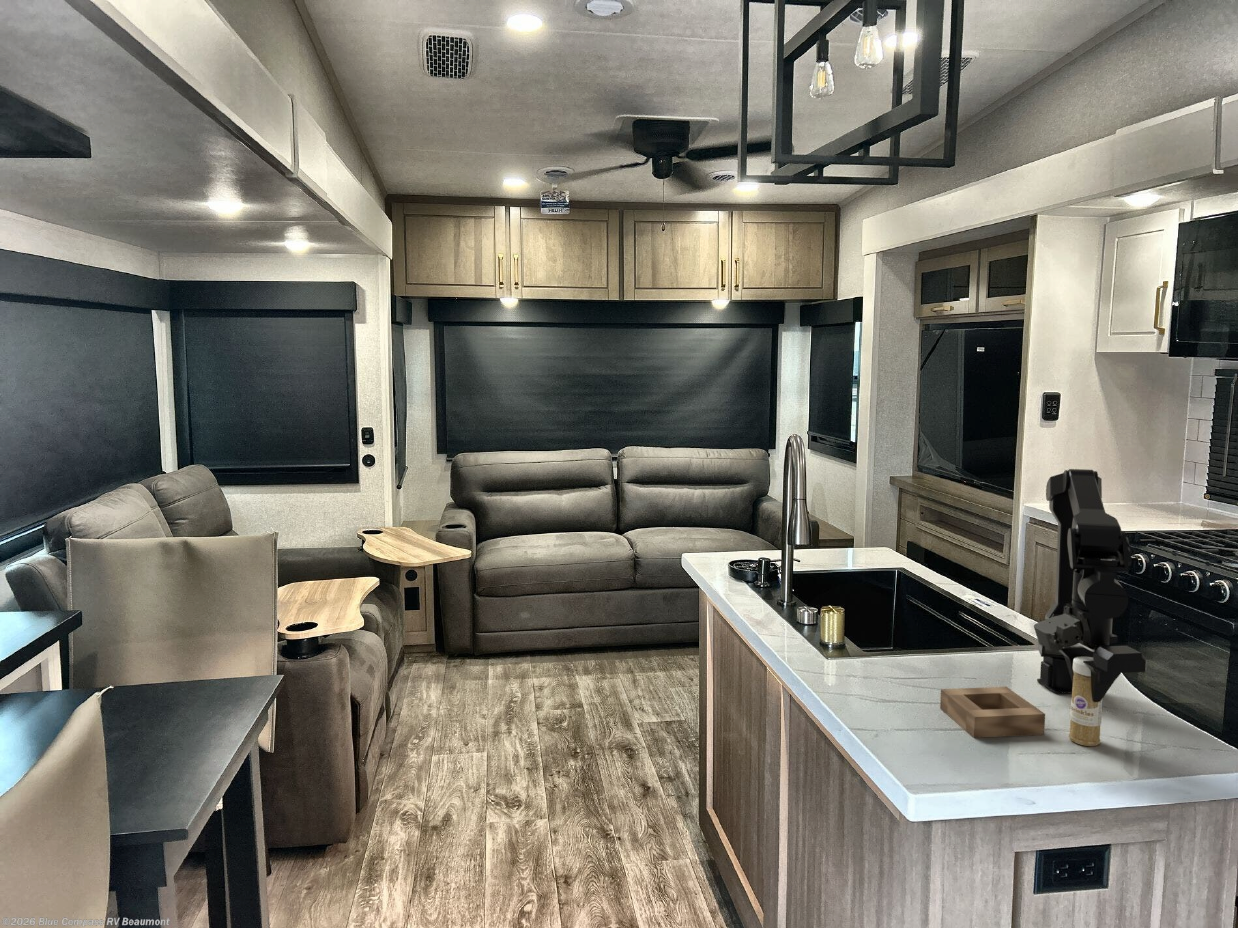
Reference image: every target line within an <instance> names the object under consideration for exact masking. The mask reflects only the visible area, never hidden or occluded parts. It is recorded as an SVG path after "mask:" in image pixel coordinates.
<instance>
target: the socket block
mask: <svg viewBox="0 0 1238 928" xmlns="http://www.w3.org/2000/svg"><path fill="white" fill-rule="evenodd" d="M939 701H940V705H939V709H940V710H941V711H942V712H944V713H945V714H946V715H947V716H948V717H950V719H952V720H953V721H954V722H955V723H956V724H957V725H959V726H960V727H961V728H962V729H963V730H964V731H965V732H967V734H969V735H970V736H971V737H973V738H997V737H998V738H999V737H1015V736H1016V737H1017V736H1018V737H1020V736H1037V735H1039V736H1041V735H1045V728H1046V727H1045V726H1046V713H1044V711H1042V710H1041V709H1039V708H1037V707H1036V706H1034V705H1033V704H1032V703H1030V702H1029V700H1026V699H1025V698H1024V697H1022V696H1020V695H1019V694H1018V693H1017V692H1015V691H1013V690H1012V689H1011V688H1009V687H1008V686H987V687H968V688H967V687H964V688H962V687H961V688H941V689H940V700H939Z"/></svg>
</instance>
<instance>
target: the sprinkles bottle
mask: <svg viewBox="0 0 1238 928" xmlns="http://www.w3.org/2000/svg"><path fill="white" fill-rule="evenodd" d="M1083 661H1094V660H1093V658H1092V657H1076V658H1074V660H1073V673H1074V676H1073V688H1072V693H1071V700H1070V714H1069V717H1070V723H1069V724H1070V725H1069V732H1068V733H1069V734H1068V738H1069V741H1072V742H1073V743H1076V744H1078V745H1081V746H1086V747H1095V746H1098V745H1100V744H1101V739H1100V738H1101V737H1100V736H1101V725H1102V715H1103V713H1102V712H1103V710H1102V709H1103V701H1104V700H1103V699H1104V697H1103V698H1102V700H1101V701H1100V702H1094V701H1093V700H1092V692H1091V671H1090V669H1089V668H1088V667H1087V666H1086V665H1085V664H1084V662H1083Z"/></svg>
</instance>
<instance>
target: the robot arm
mask: <svg viewBox="0 0 1238 928" xmlns="http://www.w3.org/2000/svg"><path fill="white" fill-rule="evenodd" d="M1045 488H1046V489H1045V498H1046V501H1047V502H1049V504H1048V508H1049V511H1050V512H1051V514H1052V516H1053V517H1054V519H1055V521H1056V522H1057V540H1056V541H1057V543H1056V544H1057V545H1056V567H1055V568H1056V569H1055V570H1056V573H1055V595H1054V596H1055V598H1054V599H1055V600H1054V602H1053V603H1052V605H1051V606H1050V608H1049V609H1048V610H1047V611H1046V613H1045V616H1044V620H1042V621H1039V622H1037V623H1035V624H1034V625H1033V629H1034V632H1035V634H1036V636H1035V637H1036V639H1037V641H1038V642H1037V649H1038V653H1039V655H1040V657H1043V658H1042V661H1041V662H1040V671H1039V672H1040V674H1039V675H1040V676H1039V678H1037V680H1036V681H1037V683H1039V684H1041V685H1042V686H1044V687H1045V688H1047V689H1048V690H1049V691H1051V692H1053V693H1054V694H1058V695H1059V694H1072V688H1073V676H1074V673H1073V660H1074V658H1076V657H1092V658H1093V660H1094V661H1083V662H1084V664H1085V665H1086V666H1087V667H1088V668H1089V669H1090V671H1091V692H1092V700H1093V701H1094V702H1100V701H1101V700H1102V698H1103V699H1104V697H1105V695H1106V694H1107V692H1109V689H1110V688H1111V687H1112V686H1113V684H1114V683H1115V681H1116V680H1118V677H1119V676H1120V675H1122V674H1123V673H1124V674H1125V673H1127V674H1128V673H1145V672H1146V671H1147V666H1148V665H1147V663H1148V658H1147V657H1146V656H1145V655H1144V654H1143V652H1140V651H1138V650H1136V649H1134V648H1132V647H1130V646H1129V645H1112V646H1111V645H1110V644H1118V642H1119V641H1118V639H1119V638H1118V635H1117V634H1113V619H1115V618H1120V616H1121V615H1122V614H1123V613H1125V612H1126V610H1127V608H1128V606H1129V605H1128V604H1129V596H1128V593H1127V592H1126V590H1125V588H1124V587H1123V586H1122V584H1120V582H1119V581H1118V573H1127V574H1128V573H1129V572H1130V571H1129V570H1130V569H1129V567H1130V566H1131V565H1132V563H1133V561H1132V553H1131V546H1130V541H1129V538H1128V537H1127V534H1126V531H1124V530H1122V528H1121V525H1120V522H1119V521H1118V518H1116V517H1115V516H1112V515H1111V514H1109V513H1107V512H1106V510H1105V507H1104V502H1103V500H1102V498H1103V490H1102V489H1103V486H1102V477H1100V476H1099V474H1098V471H1097V470H1093V469H1082V468H1081V469H1079V468H1078V469H1077V468H1075V469H1074V468H1069V469H1066V470H1065V469H1064V471H1063V472H1062V473H1059V474H1056V475H1051V476H1050V477H1049V478H1048V480H1047V481H1046V486H1045ZM1102 701H1103V700H1102Z"/></svg>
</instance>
